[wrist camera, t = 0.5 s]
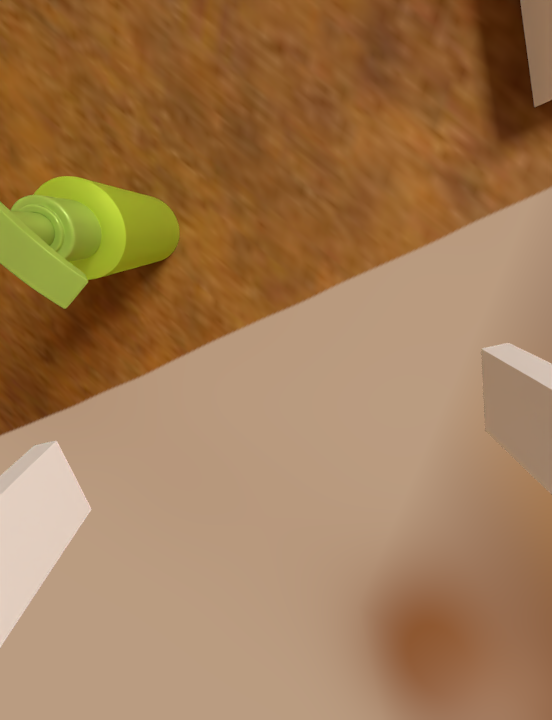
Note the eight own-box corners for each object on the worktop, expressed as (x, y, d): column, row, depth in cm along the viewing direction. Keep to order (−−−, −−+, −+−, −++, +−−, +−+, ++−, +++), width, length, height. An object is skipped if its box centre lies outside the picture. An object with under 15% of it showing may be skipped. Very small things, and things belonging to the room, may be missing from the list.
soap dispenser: (161, 282, 36) (35, 341, 17) (104, 229, 34) (-107, 230, 15) (200, 238, 34) (110, 249, 16) (142, 181, 33) (-36, 116, 14)
